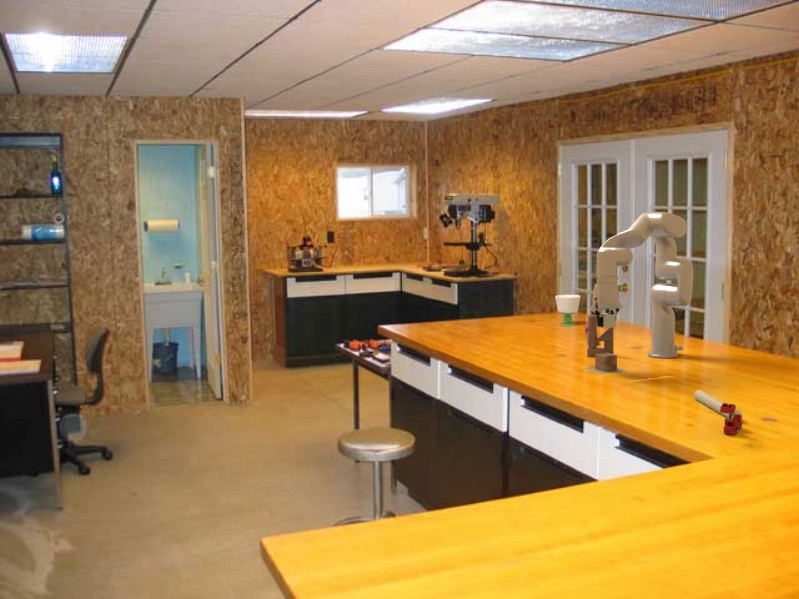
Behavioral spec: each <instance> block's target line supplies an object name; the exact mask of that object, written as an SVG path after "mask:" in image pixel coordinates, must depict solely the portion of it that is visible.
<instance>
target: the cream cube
mask: <svg viewBox="0 0 799 599" xmlns="http://www.w3.org/2000/svg"><path fill="white" fill-rule="evenodd" d="M602 317H603V327H601V328H603V329H609V328H612V327H614V328H616V316H615V314H610V312H608V313H607V312H605V313H604V312H603V315H602ZM597 327H598V328H600V327H599V326H597Z"/></svg>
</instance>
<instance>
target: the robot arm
mask: <svg viewBox="0 0 799 599" xmlns="http://www.w3.org/2000/svg"><path fill="white" fill-rule="evenodd" d="M687 231H688V224H687V221H686V220H685V219H684V218H683V217H682V216H679V215H676V214H673V213H672V212H671V213H670V212H667V211H645V212H643V213H641V214H640V215H638V217H637V218H636V219H635V221H634V222H633V223H632V224H631V225H630V226H629V227H628V229H626V230H624V231H622V232H619V233H618V234H615V235H613V236H612V237H609V238H608V239H607V240H605V241H604V243H603V244H601V246H600V247H599V249H598V250H597V252H596V283H595V284H594V287H593V292H592V300H591V302H592V304H591V306H590V308H589V309H590V311H591V312H593V315H596V316H597V326H599V327H598V328H602V327H603V317H602V315H603V314H604V310H609V314H615V317H616V316H617V315H618V313H619V311H620V310H621V309H622V308H623V305H622V304H621V302H620V292H619V285H618V283H617V281H618V280H619V277H618V276H617V267H621V268H622V267H627V266H629V265H630V264H631V263H632V261H633V260H634V255H633V252H632V251H631V249H635V248H637V247H641V246H642V245H643V244H644V243H645V242H646V240H648V238H650V237H651V238H652V240H653V242H654V244H655V264H654V266H655V267H654V274H655V277H656V278H657V279H659V280H662V281H674V282H675V281H676V282H677V283H668V282H667V283H666V282H665V283H664V282H660V283H656V284H653V285H652V286H651V287H650V290H649V299H650V305H651V351H650V350H649V351H648V352H647V356H649V357H651V358H658V359H671V358H672V359H673V358H678V357H679V353H678V352H677V351H683V350H684V345H678V346H677V344H675V343H676V342H675V338H676V329H675V328H676V315H675V312H674V309H673V308H672V307H679V308H681V307H683V308H684V307H687V306H689V305H690V304H691V302H692V298H693V289H694V288H693V285H694V265H693V263H692V261H690V260H689V259H687V258H679V257H677V256H678V255H677V254H678V252H677V250H678V248H677V243H676V241H675V239H676V238H677V239H678V238H679V239H680V238H682V237H684V236H685V235H686V233H687ZM674 238H675V239H674Z"/></svg>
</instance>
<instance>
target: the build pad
mask: <svg viewBox="0 0 799 599" xmlns="http://www.w3.org/2000/svg"><path fill="white" fill-rule="evenodd" d="M584 369H586V370H588V371H591V372H595V373H599V374H603V375H605V374H612V373H613V374H614V373H620V372H622V373H623V372H627V371H628V369H627V370H626V369H624V368H619V367H617V370H613V371H605V372H604V371H601V370H597V369H595V366H593V367H592V366H591V367H587V368H586V367H584Z"/></svg>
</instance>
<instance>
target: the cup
mask: <svg viewBox="0 0 799 599" xmlns="http://www.w3.org/2000/svg"><path fill="white" fill-rule="evenodd" d="M554 298H555V303H556V308H557V311H558V313H559V314H562V315H564V316H563V321H564V322H563V323H562V322H561V323H559V324H560V325H559V326H562V325H564V326H563V327H572V326H573V325H574V326H577V323H573V322H572V321H573V320H572V319H573V317H572V315H574V314H576V313H577V312H578V311H579V306H580V302H581V301H580V300H581V295H579V294H558V295H554ZM574 326H573V327H574Z"/></svg>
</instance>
